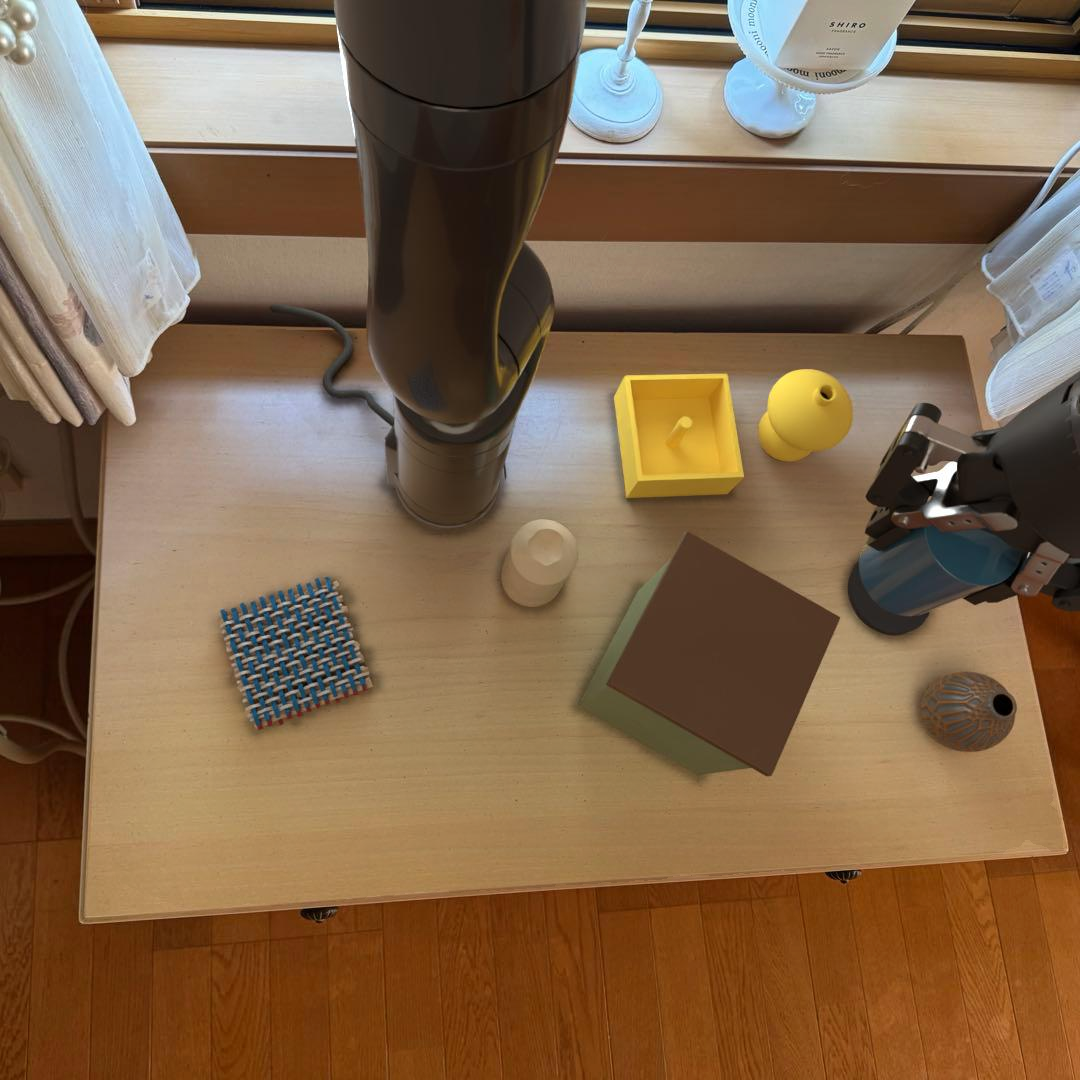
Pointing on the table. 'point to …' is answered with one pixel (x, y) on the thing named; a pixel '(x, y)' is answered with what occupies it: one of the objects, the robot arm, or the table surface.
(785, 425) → the bath set
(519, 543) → the candle
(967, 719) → the vase
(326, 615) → the woven mat
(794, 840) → the table surface
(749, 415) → the table surface
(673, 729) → the stand
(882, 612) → the coaster
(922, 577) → the blue cylinder
